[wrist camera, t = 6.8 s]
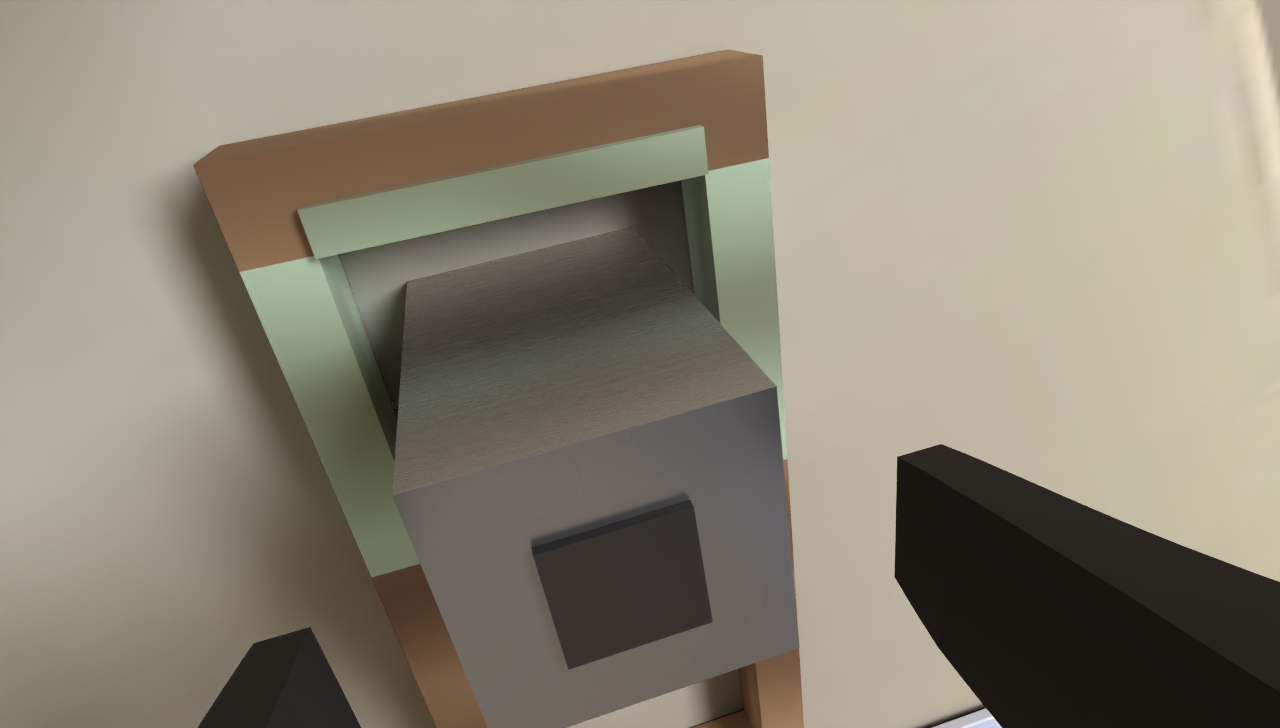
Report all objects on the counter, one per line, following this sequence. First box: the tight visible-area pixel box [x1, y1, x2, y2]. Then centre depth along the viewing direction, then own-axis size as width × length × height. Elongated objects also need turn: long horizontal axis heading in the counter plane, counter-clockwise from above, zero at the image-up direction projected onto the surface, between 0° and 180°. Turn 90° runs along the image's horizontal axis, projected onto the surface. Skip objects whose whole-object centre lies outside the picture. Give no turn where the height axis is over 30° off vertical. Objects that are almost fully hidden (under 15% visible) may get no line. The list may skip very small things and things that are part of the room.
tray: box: [193, 50, 804, 728], centre depth 17 cm, size 20×9×2 cm, turn 9°
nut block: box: [392, 227, 799, 728], centre depth 12 cm, size 4×4×7 cm
